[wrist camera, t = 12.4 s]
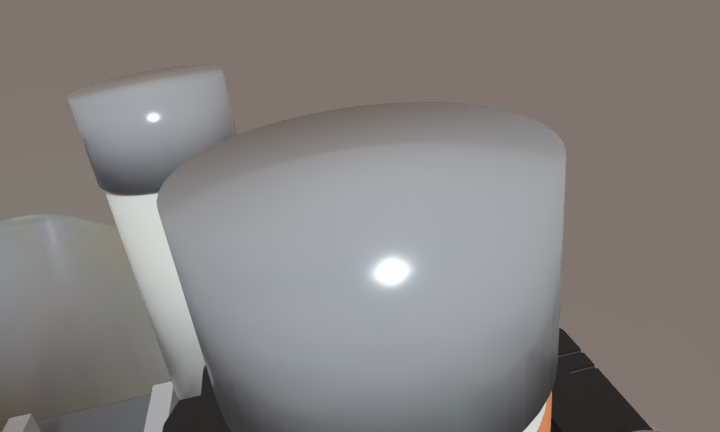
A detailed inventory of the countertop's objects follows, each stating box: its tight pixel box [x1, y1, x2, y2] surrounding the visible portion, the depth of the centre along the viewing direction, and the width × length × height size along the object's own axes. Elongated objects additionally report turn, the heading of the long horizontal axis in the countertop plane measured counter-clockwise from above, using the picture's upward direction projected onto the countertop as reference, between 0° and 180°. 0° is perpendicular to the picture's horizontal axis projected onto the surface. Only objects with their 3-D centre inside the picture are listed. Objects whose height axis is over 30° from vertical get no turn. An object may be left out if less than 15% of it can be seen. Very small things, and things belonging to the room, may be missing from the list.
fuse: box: [68, 65, 237, 400], centre depth 19 cm, size 4×4×14 cm
